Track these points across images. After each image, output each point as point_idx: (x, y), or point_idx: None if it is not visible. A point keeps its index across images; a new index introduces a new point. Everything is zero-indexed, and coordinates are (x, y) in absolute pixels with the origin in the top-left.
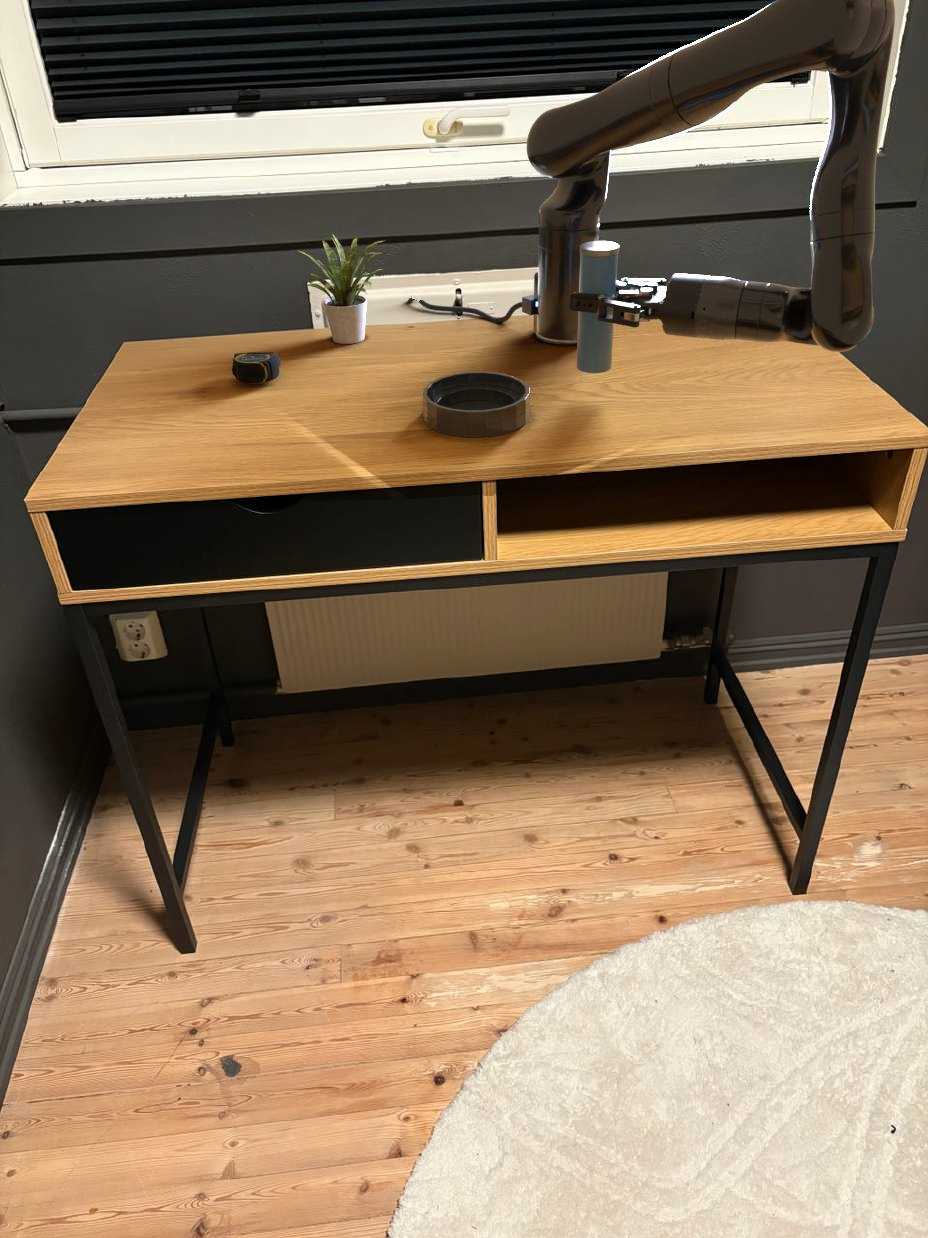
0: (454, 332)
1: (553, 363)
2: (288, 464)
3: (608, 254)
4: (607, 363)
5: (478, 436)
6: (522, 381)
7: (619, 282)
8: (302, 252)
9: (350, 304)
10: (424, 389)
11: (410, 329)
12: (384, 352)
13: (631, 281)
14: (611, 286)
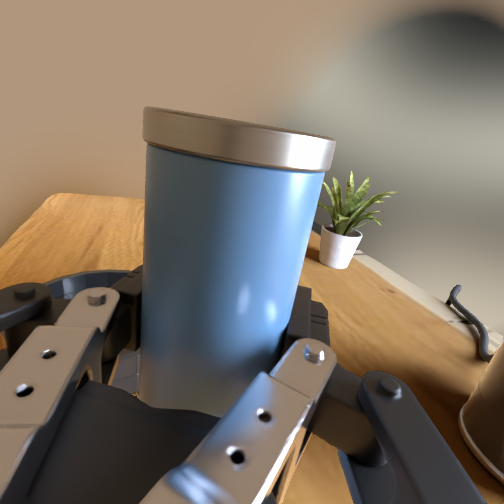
0: (405, 319)
1: None
2: (45, 241)
3: (145, 132)
4: None
5: None
6: (131, 355)
7: (319, 361)
8: (334, 179)
9: (338, 233)
10: (126, 271)
11: (384, 291)
12: (311, 278)
13: (287, 393)
14: (160, 304)
